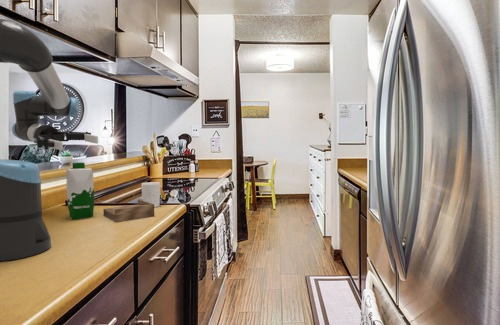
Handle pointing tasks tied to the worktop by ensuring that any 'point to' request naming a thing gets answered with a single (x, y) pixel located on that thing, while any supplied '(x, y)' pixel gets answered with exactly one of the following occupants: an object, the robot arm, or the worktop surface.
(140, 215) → the wooden tray
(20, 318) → the worktop surface
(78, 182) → the white two-tone container
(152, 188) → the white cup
